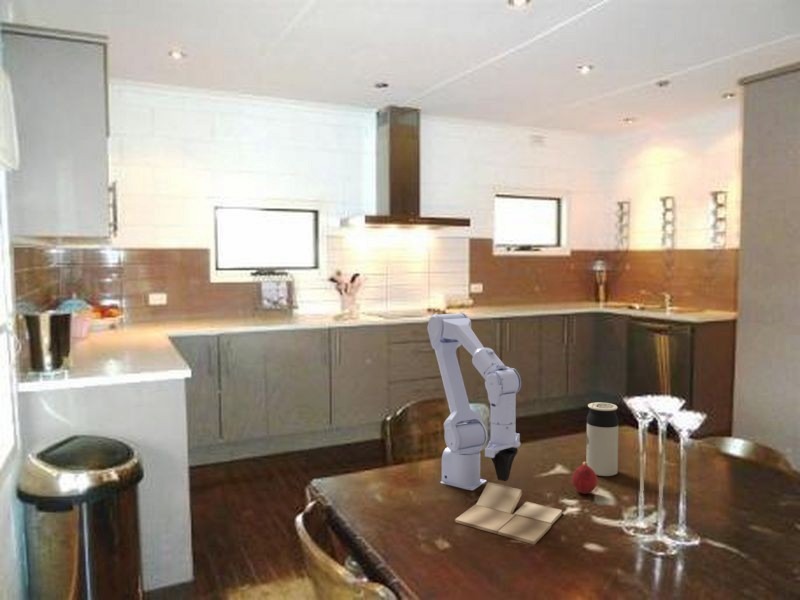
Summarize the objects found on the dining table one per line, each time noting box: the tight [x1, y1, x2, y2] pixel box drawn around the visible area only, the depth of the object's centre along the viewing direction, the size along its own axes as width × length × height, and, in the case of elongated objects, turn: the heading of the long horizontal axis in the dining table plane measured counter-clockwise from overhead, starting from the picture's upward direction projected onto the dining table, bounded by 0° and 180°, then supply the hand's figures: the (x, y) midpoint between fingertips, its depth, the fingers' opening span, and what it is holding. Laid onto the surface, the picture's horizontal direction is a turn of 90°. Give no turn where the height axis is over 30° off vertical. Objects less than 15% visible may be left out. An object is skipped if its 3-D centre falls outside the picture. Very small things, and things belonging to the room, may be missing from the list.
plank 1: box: [475, 481, 523, 515], centre depth 134 cm, size 8×7×1 cm
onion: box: [571, 461, 598, 495], centre depth 141 cm, size 6×6×8 cm
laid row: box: [454, 504, 552, 546], centre depth 125 cm, size 18×9×1 cm, turn 55°
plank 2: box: [513, 500, 563, 526], centre depth 129 cm, size 8×7×1 cm
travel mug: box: [585, 401, 619, 477], centre depth 156 cm, size 8×8×18 cm
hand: (503, 479), depth 135 cm, fingers closed
